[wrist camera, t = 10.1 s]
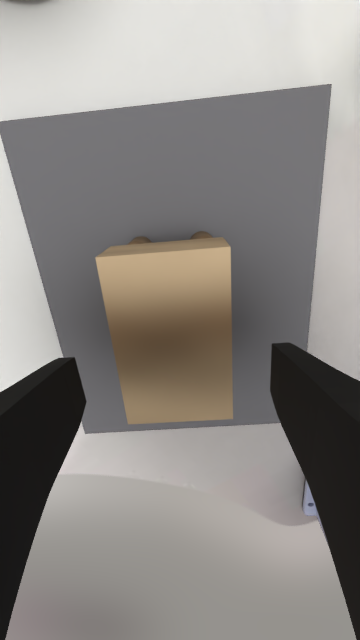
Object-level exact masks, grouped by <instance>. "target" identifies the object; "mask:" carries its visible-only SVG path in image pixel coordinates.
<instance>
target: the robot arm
mask: <svg viewBox="0 0 360 640" xmlns="http://www.w3.org/2000/svg"><path fill="white" fill-rule="evenodd" d="M270 393H271V396H272V400H273V403H274V406H275V410H276V413H277V416H278V418H279V420H280V423H281V425H282V427H283V429H284V432H285V434H286V436H287V438H288V440H289V443H290V445H291V447H292V449H293V451H294V453H295V456H296V458H297V460H298V462H299V464H300V467H301V469H302V471H303V473H304V476H305V478H306V483H305V492H304V500H303V512H304V514H305V515H307V516H317V518H318V521H319V523H320V526H321V528H322V531H323V533H324V535H325V538H326V541H327V543H328V546H329V548H330V551H331V554H332V558H333V561H334V564H335V567H336V571H337V574H338V577H339V581H340V584H341V587H342V590H343V594H344V597H345V600H346V604H347V607H348V611H349V614H350V618H351V621H352V625H353V628H354V632H355V635H356V639H357V640H360V381H358V380H356V379H354V378H352V377H350V376H348V375H346V374H344V373H342V372H341V371H339V370H337V369H335V368H333V367H331V366H330V365H328V364H326V363H324V362H323V361H321V360H319V359H318V358H316V357H314V356H313V355H311V354H309V353H308V352H306V351H304V350H302V349H301V348H299V347H297V346H295V345H294V344H292V343H289V342H287V343H272V350H271V376H270ZM86 402H87V401H86V397H85V394H84V390H83V386H82V382H81V378H80V375H79V371H78V367H77V363H76V360H75V357H67V358H58V359H56V360H54V361H52V362H50V363H48V364H46V365H45V366H43V367H41V368H40V369H38V370H36V371H35V372H33V373H31V374H30V375H28V376H27V377H25V378H23V379H22V380H20V381H18V382H17V383H15V384H14V385H12V386H10V387H9V388H7V389H5V390H4V391H2V392H0V640H5V638H6V634H7V630H8V626H9V622H10V618H11V614H12V611H13V607H14V603H15V600H16V597H17V593H18V589H19V586H20V583H21V579H22V576H23V572H24V569H25V565H26V562H27V559H28V556H29V552H30V549H31V545H32V543H33V540H34V536H35V533H36V530H37V527H38V524H39V521H40V518H41V516H42V512H43V510H44V506H45V504H46V501H47V498H48V496H49V493H50V491H51V488H52V486H53V483H54V481H55V479H56V477H57V475H58V473H59V470H60V468H61V466H62V464H63V462H64V460H65V457H66V455H67V453H68V451H69V449H70V447H71V444H72V442H73V440H74V438H75V435H76V433H77V431H78V429H79V426H80V423H81V420H82V417H83V413H84V410H85V406H86Z"/></svg>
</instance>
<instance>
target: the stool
mask: <svg viewBox="0 0 360 640" xmlns="http://www.w3.org/2000/svg"><path fill="white" fill-rule="evenodd" d="M95 259H96V264H97V269H98V274H99V279H100V284H101V289H102V294H103V300H104V305H105V310H106V315H107V320H108V325H109V330H110V335H111V340H112V345H113V350H114V356H115V361H116V366H117V371H118V376H119V381H120V386H121V391H122V396H123V401H124V406H125V412H126V417H127V422H128V424H146V423H166V422H185V421H205V420H224V419H233V381H232V311H231V247H230V245H229V244H228V243H227V242H226V240H225V239H224V238H223V237H217V238H213V237H212V236H211V235H210V234H209V233H207V232H205V231H199V232H196V233H195V234H194V235H193V236H192V237H191V239H190V240H181V241H168V242H156V243H152V242H151V241H150V240H149V239H148V238H146V237H143V236H139V237H136V238H134V239H133V240H132V241H131V242H130V243H128V244H127V245H120V246H111V247H109V248H108V249H106V250H105V251H104V252H102V253H101V254H99V255H98V256H97V257H95Z"/></svg>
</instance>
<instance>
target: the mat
mask: <svg viewBox="0 0 360 640" xmlns="http://www.w3.org/2000/svg"><path fill="white" fill-rule="evenodd" d="M331 85H332V84H327V85H318V86H309V87H300V88H292V89H283V90H274V91H265V92H256V93H248V94H239V95H230V96H221V97H212V98H203V99H195V100H186V101H177V102H168V103H159V104H151V105H142V106H133V107H124V108H115V109H106V110H98V111H89V112H80V113H71V114H62V115H54V116H45V117H36V118H27V119H18V120H9V121H1V122H0V135H1V138H2V142H3V145H4V149H5V152H6V156H7V159H8V163H9V166H10V170H11V174H12V177H13V181H14V184H15V188H16V191H17V195H18V198H19V202H20V205H21V209H22V212H23V216H24V219H25V223H26V226H27V230H28V234H29V237H30V241H31V244H32V248H33V251H34V255H35V258H36V262H37V265H38V269H39V272H40V276H41V279H42V283H43V286H44V290H45V294H46V297H47V301H48V304H49V308H50V311H51V315H52V318H53V322H54V325H55V329H56V332H57V336H58V339H59V343H60V346H61V350H62V354H63V357H64V358H67V357H75V360H76V363H77V367H78V371H79V375H80V378H81V382H82V386H83V390H84V394H85V397H86V401H87V402H86V406H85V410H84V413H83V417H82V420H81V421H82V424H83V428H84V431H85V434H88V433H106V432H124V431H143V430H161V429H179V428H197V427H215V426H233V425H251V424H269V423H280V420H279V418H278V416H277V413H276V410H275V406H274V403H273V400H272V396H271V393H270V376H271V350H272V343H287V342H289V343H292V344H294V345H295V346H297V347H299V348H301V349H302V350H304V351H306V352H307V343H308V333H309V322H310V311H311V300H312V290H313V279H314V268H315V257H316V247H317V236H318V225H319V214H320V204H321V193H322V182H323V171H324V161H325V150H326V139H327V128H328V118H329V107H330V96H331ZM199 231H205V232H207V233H209V234H210V235H211V236H212V237H213V238H217V237H223V238H224V239H225V240H226V242H227V243H228V244H229V245H230V247H231V311H232V381H233V419H224V420H205V421H185V422H166V423H146V424H128V422H127V417H126V412H125V406H124V401H123V396H122V391H121V386H120V381H119V376H118V371H117V366H116V361H115V356H114V350H113V345H112V340H111V335H110V330H109V325H108V320H107V315H106V310H105V305H104V300H103V294H102V289H101V284H100V279H99V274H98V269H97V264H96V259H95V257H97V256H98V255H99V254H101V253H102V252H104V251H105V250H106V249H108V248H109V247H111V246H120V245H127V244H128V243H130V242H131V241H132V240H133V239H134V238H136V237H139V236H143V237H146V238H148V239H149V240H150V241H151V242H152V243H156V242H168V241H181V240H190V239H191V237H192V236H193V235H194V234H195V233H196V232H199Z"/></svg>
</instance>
